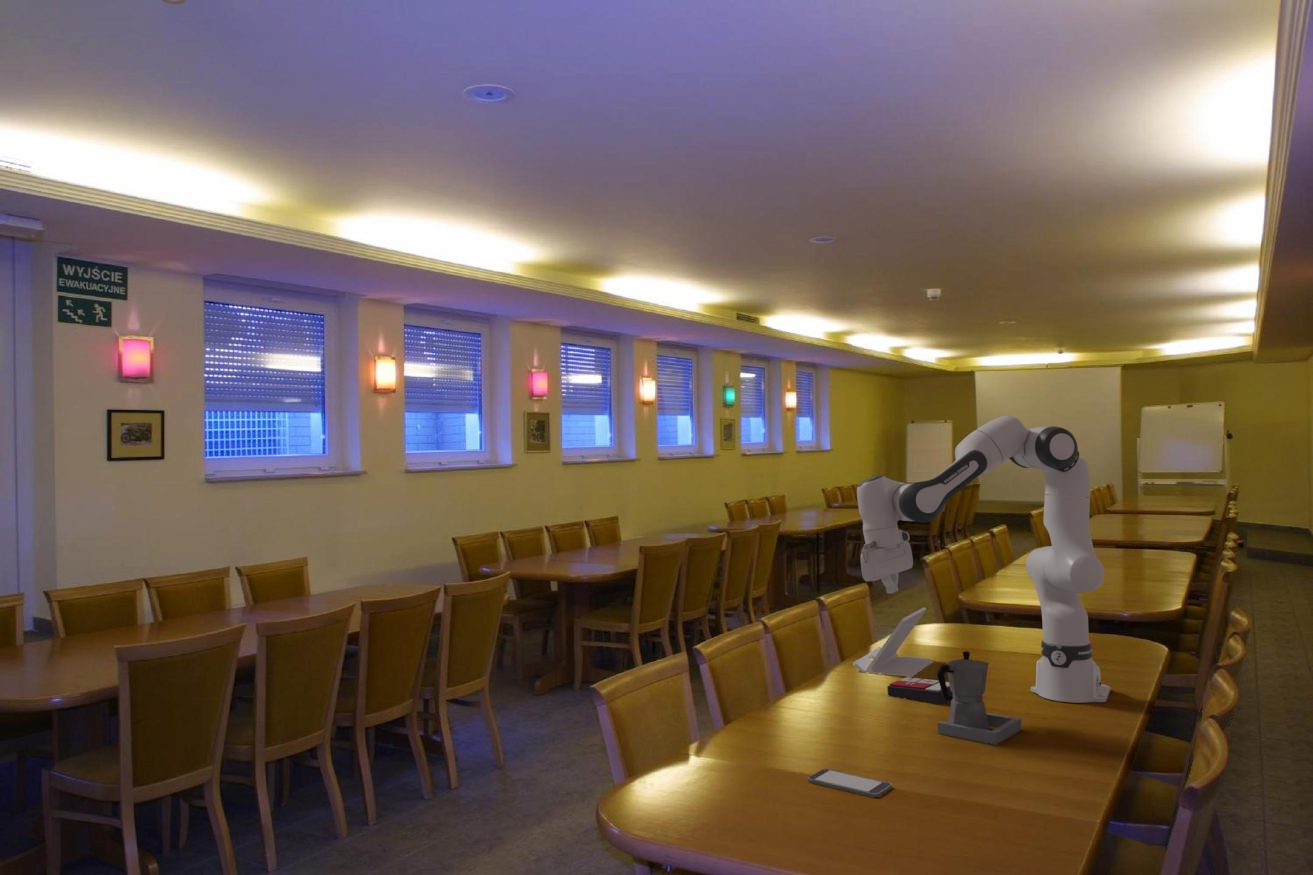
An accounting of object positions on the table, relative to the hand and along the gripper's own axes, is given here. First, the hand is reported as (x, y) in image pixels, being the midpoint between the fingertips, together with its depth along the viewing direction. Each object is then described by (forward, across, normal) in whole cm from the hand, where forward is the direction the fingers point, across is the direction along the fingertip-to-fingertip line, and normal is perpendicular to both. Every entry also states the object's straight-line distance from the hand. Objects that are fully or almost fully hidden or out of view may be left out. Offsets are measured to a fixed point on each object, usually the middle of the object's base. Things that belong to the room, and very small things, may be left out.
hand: (892, 592), depth 231 cm
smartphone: (+28, -57, -16) cm, 66 cm away
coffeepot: (+32, -9, -17) cm, 37 cm away
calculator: (+30, +12, +5) cm, 33 cm away
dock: (+32, -8, -20) cm, 39 cm away
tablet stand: (+29, +39, +28) cm, 56 cm away
